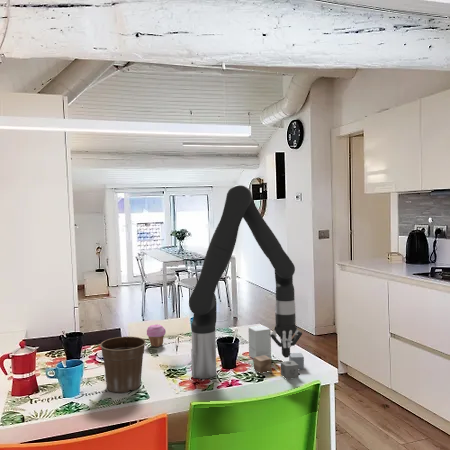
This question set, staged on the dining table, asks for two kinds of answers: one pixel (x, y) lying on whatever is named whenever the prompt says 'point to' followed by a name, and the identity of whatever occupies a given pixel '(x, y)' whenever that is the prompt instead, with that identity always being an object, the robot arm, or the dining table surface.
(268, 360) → the walnut block
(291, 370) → the dice cube
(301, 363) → the slate block
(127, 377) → the plant pot
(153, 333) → the cupcake
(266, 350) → the supplement box
